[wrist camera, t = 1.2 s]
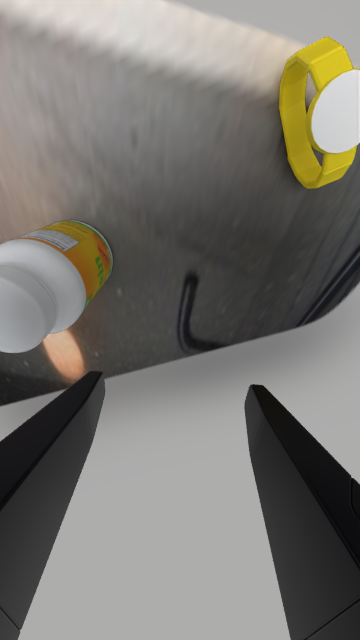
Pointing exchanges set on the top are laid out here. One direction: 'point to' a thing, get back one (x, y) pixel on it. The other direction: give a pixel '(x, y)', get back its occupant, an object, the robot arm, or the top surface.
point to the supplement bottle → (49, 281)
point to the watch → (320, 112)
